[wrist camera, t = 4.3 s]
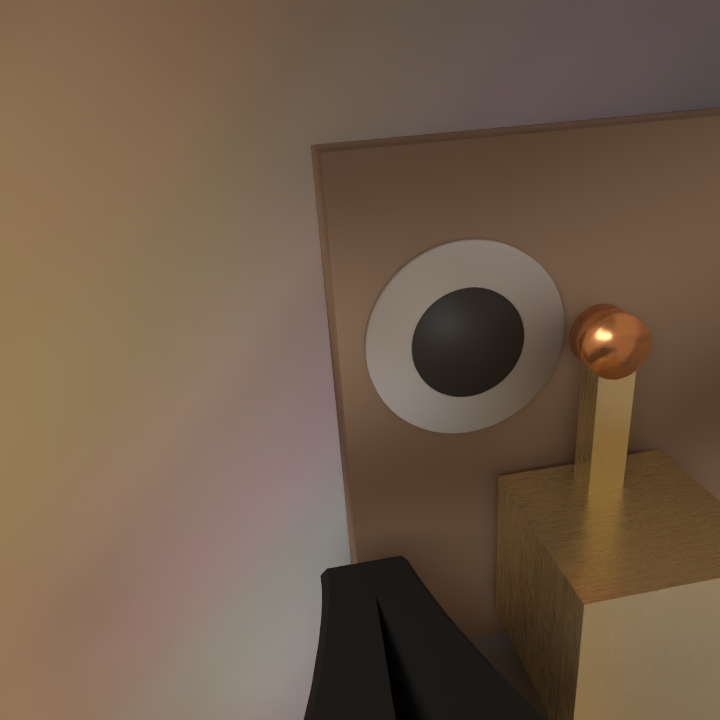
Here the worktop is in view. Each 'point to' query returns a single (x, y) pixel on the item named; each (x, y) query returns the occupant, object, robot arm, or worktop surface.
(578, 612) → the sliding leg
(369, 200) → the hole plate
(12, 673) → the worktop surface
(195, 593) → the worktop surface
